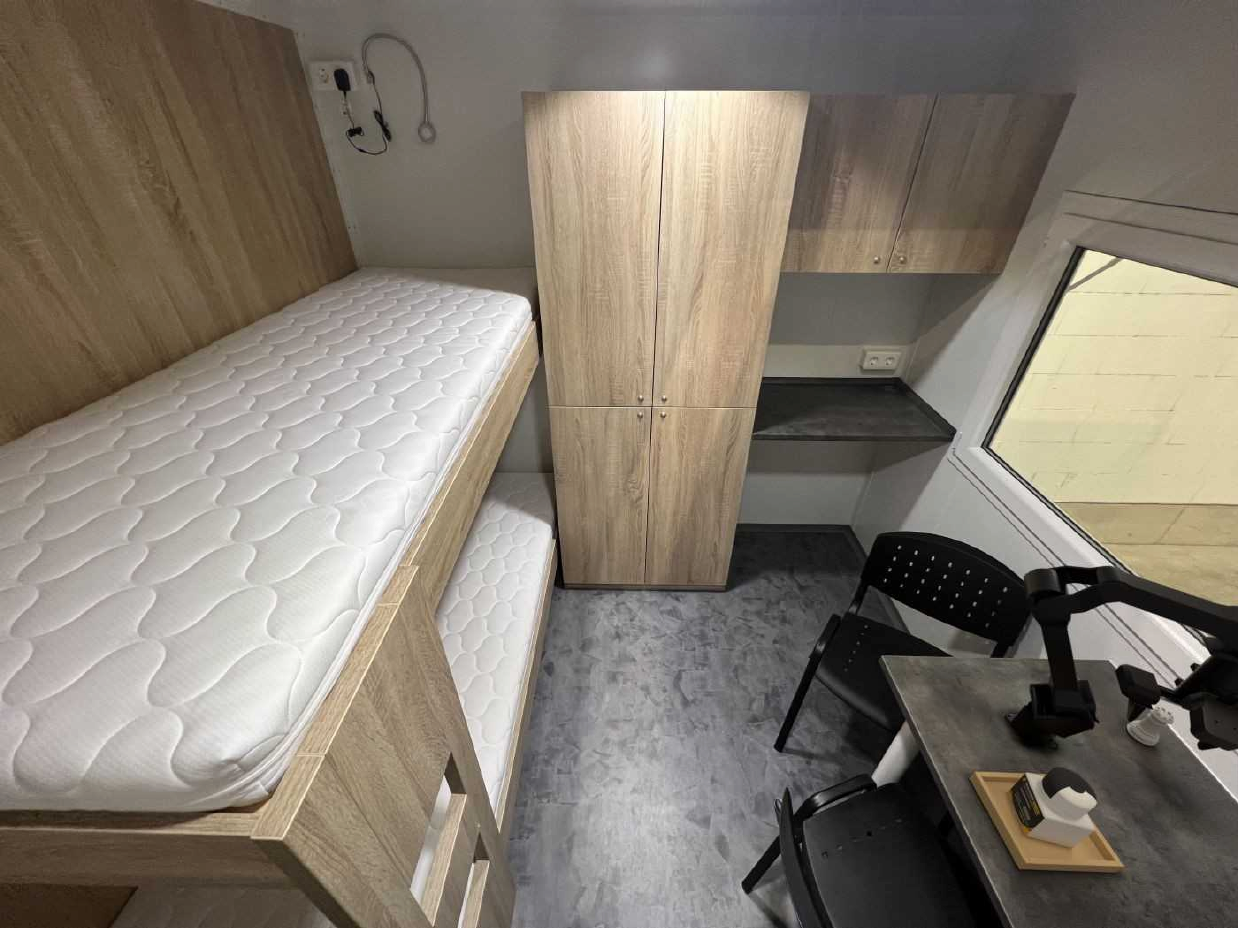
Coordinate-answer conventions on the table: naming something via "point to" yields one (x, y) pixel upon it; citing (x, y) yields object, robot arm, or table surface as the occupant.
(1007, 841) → the tray
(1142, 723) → the rook chess piece
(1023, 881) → the table surface
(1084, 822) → the medicine bottle
